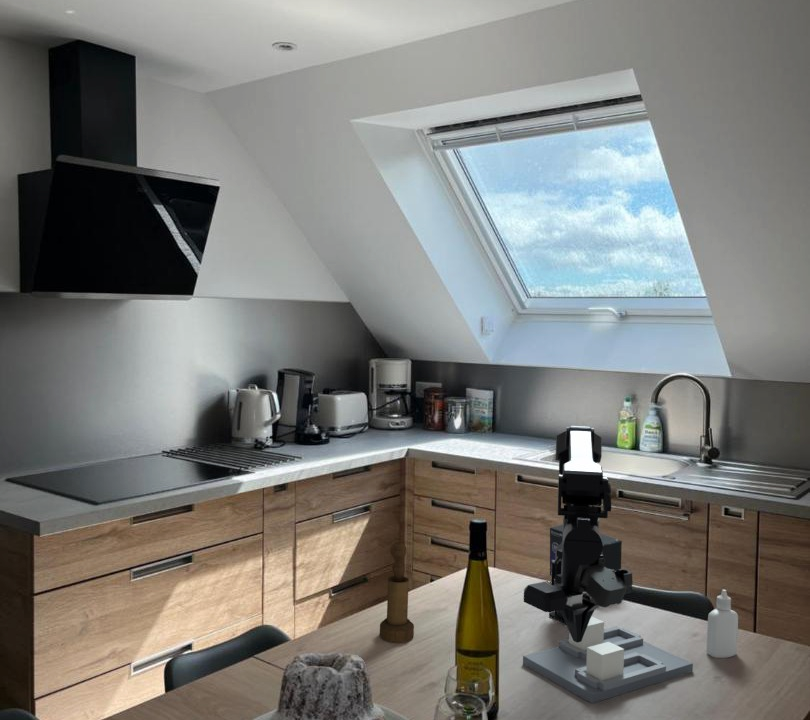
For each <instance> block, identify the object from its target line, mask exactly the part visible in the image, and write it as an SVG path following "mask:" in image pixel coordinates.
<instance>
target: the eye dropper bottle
mask: <svg viewBox="0 0 810 720" xmlns="http://www.w3.org/2000/svg"><path fill="white" fill-rule="evenodd" d="M731 608H732V598H731V597H730V596H728V593H727V590H726V589H722V590H721V592H720V595H717V596H716V608H714V609H713V610H711V611H710V612H709V613H708V616H707V629H706V630H707V631H706V654H707V655H709V656H710V657H713V658H716V659H725V658H731V657H733V656H736V654H737V653H738V634H739V633H738V632H739V631H738V630H739V629H738V628H739V615H738V613H737V612H736V611H735V610H732V609H731Z"/></svg>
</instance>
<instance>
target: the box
mask: <svg viewBox="0 0 810 720" xmlns="http://www.w3.org/2000/svg"><path fill="white" fill-rule="evenodd" d="M600 534H601V539H602V544H603V549H602V553H601V554H602V555H604V558H605V567H606V568H607V569H611V570H612V569H614V570H615V571H617V570H619V569H622V545H623V544H622V543H623V541H622V540H621V539H619V538H618V539H617V538H614V537H611V536H608V535H605V534H602V533H600ZM562 537H563V524H561V525H556V526H552V527H549V576H551V572H552V560H555V559H556V548H557V547H558V546H559V545H560V544H561V543H562Z"/></svg>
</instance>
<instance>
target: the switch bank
mask: <svg viewBox="0 0 810 720" xmlns="http://www.w3.org/2000/svg"><path fill="white" fill-rule="evenodd" d="M641 636H642V635H641V634H638V633H636V632H634V631H631V630H629V629H627V628H625V627H618V626H612V627H609V628H604V639H603V643H606V642H610V643H613V644H615V645H617V646H619V647H621V648H623V649H624V669H623V675H620V676H617V677H614V678H610V679H607V680H604V681H600V680H598V679H597V678H595V677H593V676H591V675H589V674H587V673H586V663H587V650H584V651H582V650H580V649H578V648H576V647H574V646H572V645H570V644H569V637H568V638H565V639H561V640H559V641H558V646H554V647H552V648H551V647H550V648H548V649H544V650H540V651H537V652H531V653H528V654H524V655H522V665H524V666H526V667H527V668H529V669H531V670H532V671H535V672H536V673H538V674H540V675H541V676H543V677H545V678H546V679H548V680H551V682H554V683H555V684H557V685H559V686H560V687H563V688H564V689H566V690H568V691H570V692H572V693H573V694H575V695H577V696H578V697H580V698H582V699H584V700H585V701H587V702H589V703H591V704H595V703H597V702H601V701H604V700H606V699H607V700H608V699H610V698H613V697H616V696H619V695H623V694H626V693H630V692H631V691H632V692H633V691H635V690H640V689H642V688H644V687H648V686H651V685H654V684H655V685H656V684H658V683H661V682H664V681H667V680H671V679H674V678H677V677H681V676H683V675H686V674H690V673H693V670H694V668H693V667H694V663H693V662H691V661H689V660H686V659H684V658H682V657H680V656H677V655H675V654H674V653H671V652H669V651H666V650H664V649H662V648H660V647H657V646H656V645H654V644H651V643H649V642H647V641H644V638H643V637H641Z"/></svg>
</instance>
